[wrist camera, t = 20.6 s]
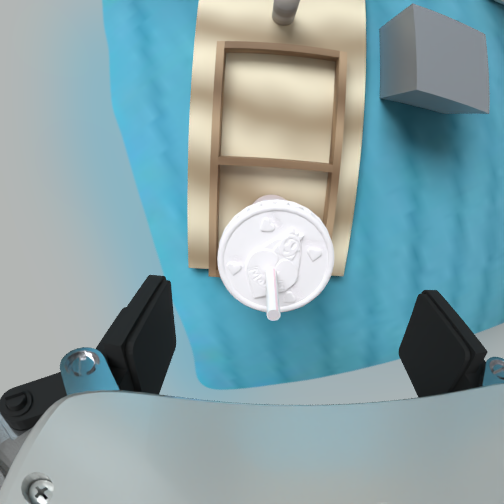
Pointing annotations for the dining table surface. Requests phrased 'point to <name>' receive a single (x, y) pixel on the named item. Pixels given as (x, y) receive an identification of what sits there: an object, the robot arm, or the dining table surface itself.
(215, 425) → the robot arm
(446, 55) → the gray cube
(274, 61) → the board
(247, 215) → the smoothie
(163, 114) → the dining table surface
